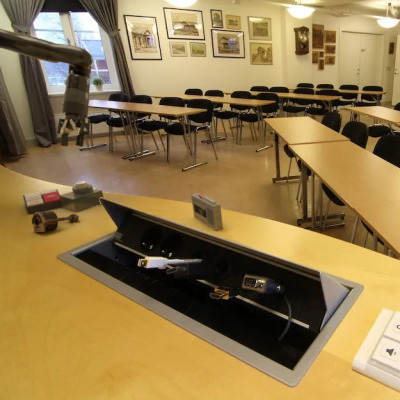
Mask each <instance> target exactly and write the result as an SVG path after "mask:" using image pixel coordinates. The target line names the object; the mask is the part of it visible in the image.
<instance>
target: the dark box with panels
mask: <svg viewBox="0 0 400 400" xmlns="http://www.w3.org/2000/svg"><path fill="white" fill-rule="evenodd" d="M59 195H61V194H60V192H59V190H58V189H57V188H53V189H47V190H46V189H45V190H41V191H36V192H30V193H24V194H23V195H22V198H23V202H24V205H25V209H26V211H27V214H28V215H34V213H36V212H47V211H53V210H58V209H63V207H62V204H61V201H60V197H59Z"/></svg>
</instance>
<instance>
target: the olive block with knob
mask: <svg viewBox="0 0 400 400" xmlns="http://www.w3.org/2000/svg"><path fill="white" fill-rule="evenodd" d="M87 186H88V187H85V188H77V187H76V185H74V186H73V187H71V191H70V192H66V193H63V194H60V195H59V197H60V201H61V204H62V207H63V208H62V209H64V210H67V211H70V212H73V213H75V214H76V213H79V212H82V211H85V210H89V209H92V208H94V207H93V206H95V207H97V206H96V205H98V206H100V205H102V204H100V202H99V198H100V197H103V198H104V199H105V197H104V193H103V190H102V189H97V188H94V187H93V184H90V183H87ZM91 207H92V208H91ZM88 208H89V209H88Z"/></svg>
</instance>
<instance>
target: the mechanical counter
mask: <svg viewBox="0 0 400 400" xmlns="http://www.w3.org/2000/svg"><path fill="white" fill-rule="evenodd" d="M79 218H80V216H79V215H78V214H76V213H71V214H69V215H68V216H65V217H64V216H62V217H59V216H58V214H57V212H55V211H53V210H48V211H44V212H36V213H34V214H32V218H31V224H32V228H33V232H34V233H44V232H46V231H53V230H56V229H57V228H58V226H59V222H64V221H65V222H67V221H70V222H72V223H75V222H77V221H78V220H79Z"/></svg>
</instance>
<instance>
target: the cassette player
mask: <svg viewBox="0 0 400 400" xmlns="http://www.w3.org/2000/svg"><path fill="white" fill-rule="evenodd" d="M190 197H191V204H192V211H193V217H194V218H195V219H196V220H198V221H199V222H201V223H203V224H204V225H206V226H207V227H209V228H210V229H213V230H214V231H215V232H216V231H219V230H222V229H224V226H223V216H222V215H223V214H222V207H221V204H220V203H218V202H217V201H216V200H214V199H213V198H211V197H209V196H206V195H205V194H203V193H199V192H196V193H192V194H190Z"/></svg>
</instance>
